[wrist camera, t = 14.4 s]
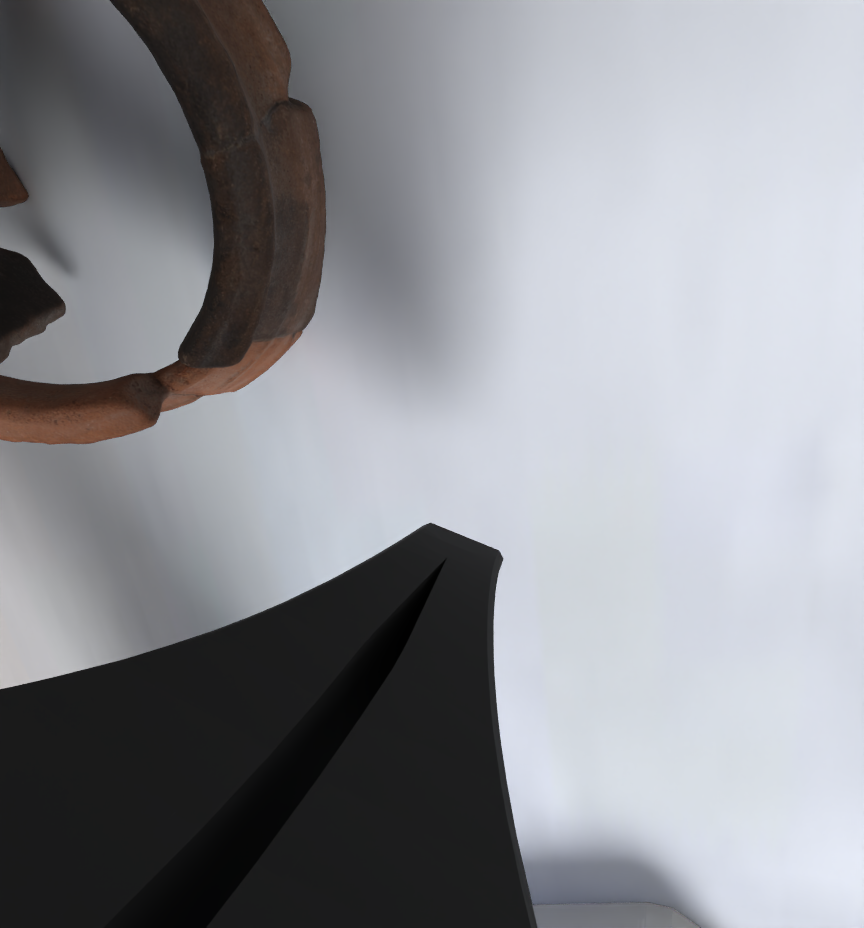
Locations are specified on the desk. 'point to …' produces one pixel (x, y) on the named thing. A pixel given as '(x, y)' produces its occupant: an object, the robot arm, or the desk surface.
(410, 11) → the desk surface
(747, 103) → the desk surface
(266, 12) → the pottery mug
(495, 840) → the robot arm
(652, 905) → the intercom
